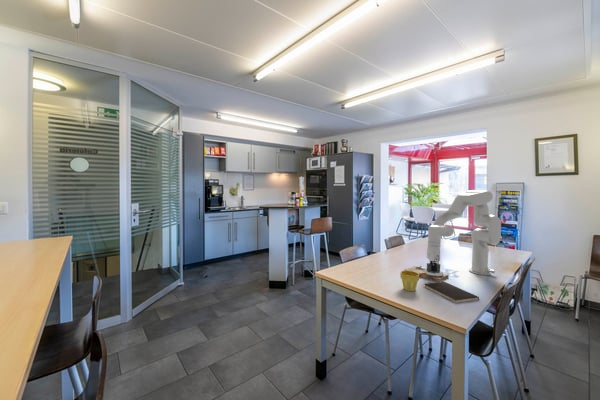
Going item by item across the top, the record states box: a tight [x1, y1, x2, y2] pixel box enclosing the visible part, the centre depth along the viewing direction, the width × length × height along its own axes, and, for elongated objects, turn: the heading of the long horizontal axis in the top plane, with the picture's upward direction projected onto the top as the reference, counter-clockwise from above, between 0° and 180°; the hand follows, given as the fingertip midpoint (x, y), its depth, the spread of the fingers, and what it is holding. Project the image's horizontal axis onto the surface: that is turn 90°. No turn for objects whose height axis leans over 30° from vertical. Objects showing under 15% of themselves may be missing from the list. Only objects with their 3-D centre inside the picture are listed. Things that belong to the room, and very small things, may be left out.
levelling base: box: [403, 265, 449, 283], centre depth 176 cm, size 24×14×4 cm, turn 38°
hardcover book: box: [423, 281, 480, 304], centre depth 146 cm, size 16×23×2 cm
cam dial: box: [419, 262, 444, 277], centre depth 172 cm, size 15×12×7 cm
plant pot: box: [399, 270, 420, 292], centre depth 151 cm, size 10×10×10 cm
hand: (433, 270), depth 172 cm, fingers closed on cam dial, 2 cm apart
